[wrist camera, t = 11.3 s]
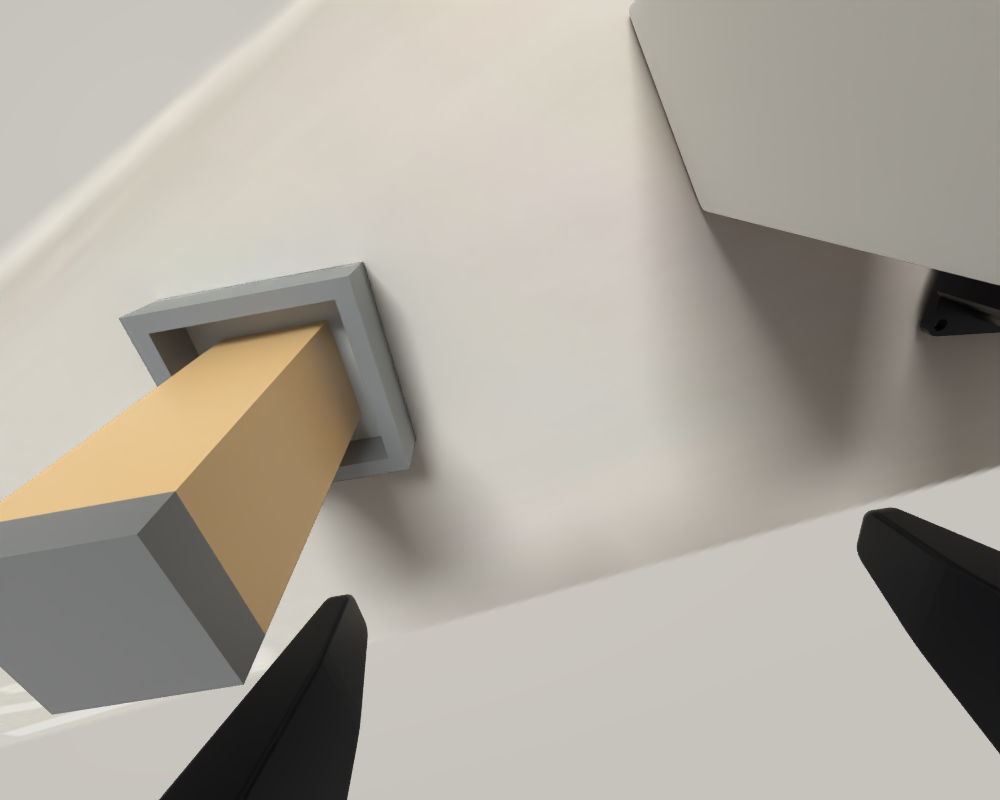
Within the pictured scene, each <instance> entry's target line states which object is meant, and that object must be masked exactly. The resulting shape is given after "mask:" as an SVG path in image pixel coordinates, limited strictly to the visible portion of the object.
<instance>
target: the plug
mask: <svg viewBox="0 0 1000 800" xmlns="http://www.w3.org/2000/svg"><path fill="white" fill-rule="evenodd" d="M361 415H362V414H361V411H360V409H359V406H358V403H357V400H356V398H355V395H354V392H353V389H352V387H351V384H350V381H349V378H348V375H347V373H346V370H345V367H344V364H343V362H342V359H341V356H340V353H339V351H338V348H337V345H336V342H335V339H334V337H333V334H332V331H331V328H330V326H329V323H328V320H325V321H320V322H314V323H309V324H304V325H299V326H293V327H288V328H283V329H277V330H272V331H267V332H261V333H256V334H251V335H245V336H240V337H235V338H230V339H224V340H221V341H219V342H218V343H217V344H215V345H214V346H213V347H211V348H210V349H209V350H207V351H206V352H204V353H203V354H202V355H200V356H199V357H198V358H196V359H195V360H194V361H192V362H191V363H190V364H188V365H187V366H185V367H184V368H183V369H181V370H180V371H179V372H177V373H176V374H175V375H173V376H172V377H170V378H169V379H168V380H166V381H165V382H164V383H162V384H161V385H160V386H158V387H157V388H155V389H154V390H153V391H151V392H150V393H149V394H147V395H146V396H145V397H143V398H142V399H140V400H139V401H138V402H136V403H135V404H134V405H132V406H131V407H130V408H128V409H127V410H125V411H124V412H123V413H121V414H120V415H119V416H117V417H116V418H115V419H113V420H112V421H111V422H109V423H108V424H106V425H105V426H104V427H102V428H101V429H100V430H98V431H97V432H96V433H94V434H93V435H91V436H90V437H89V438H87V439H86V440H85V441H83V442H82V443H81V444H79V445H78V446H76V447H75V448H74V449H72V450H71V451H70V452H68V453H67V454H66V455H64V456H63V457H61V458H60V459H59V460H57V461H56V462H55V463H53V464H52V465H51V466H49V467H48V468H46V469H45V470H44V471H42V472H41V473H40V474H38V475H37V476H36V477H34V478H33V479H31V480H30V481H29V482H27V483H26V484H25V485H23V486H22V487H21V488H19V489H18V490H17V491H15V492H14V493H12V494H11V495H10V496H8V497H7V498H6V499H4V500H3V501H2V502H0V667H1V668H2V669H3V670H5V671H6V672H7V673H8V674H9V675H10V676H11V677H12V678H13V679H14V680H15V681H16V682H17V683H19V684H20V685H21V686H22V687H23V688H24V689H25V690H26V691H27V692H28V693H29V694H30V695H32V696H33V697H34V698H35V699H36V700H37V701H38V702H39V703H40V704H41V705H42V706H43V707H44V708H46V709H47V710H48V711H49V712H50V713H51V714H59V713H65V712H71V711H78V710H84V709H91V708H97V707H103V706H110V705H116V704H122V703H129V702H135V701H142V700H148V699H154V698H161V697H167V696H173V695H180V694H186V693H193V692H199V691H205V690H212V689H218V688H224V687H230V686H237V685H243V684H244V683H245V680H246V678H247V676H248V673H249V671H250V669H251V667H252V664H253V662H254V660H255V657H256V655H257V653H258V651H259V648H260V646H261V644H262V641H263V639H264V637H265V635H266V632H267V630H268V628H269V625H270V623H271V621H272V619H273V616H274V614H275V612H276V609H277V607H278V605H279V602H280V600H281V598H282V596H283V593H284V591H285V589H286V586H287V584H288V582H289V580H290V577H291V575H292V573H293V570H294V568H295V566H296V564H297V561H298V559H299V557H300V554H301V552H302V550H303V548H304V545H305V543H306V541H307V538H308V536H309V534H310V532H311V529H312V527H313V525H314V522H315V520H316V518H317V516H318V513H319V511H320V509H321V506H322V504H323V502H324V500H325V497H326V495H327V493H328V490H329V488H330V486H331V484H332V481H333V479H334V477H335V474H336V472H337V470H338V468H339V465H340V463H341V461H342V458H343V456H344V454H345V452H346V449H347V447H348V445H349V442H350V440H351V438H352V436H353V433H354V431H355V429H356V426H357V424H358V422H359V420H360V417H361Z"/></svg>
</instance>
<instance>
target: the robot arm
mask: <svg viewBox="0 0 1000 800" xmlns="http://www.w3.org/2000/svg"><path fill="white" fill-rule="evenodd" d="M938 321H939V322H938ZM937 322H938V323H937ZM936 323H937V325H935V324H936ZM921 330H922V331H923V332H924V333H927V334H929V335H932V336H948V335H965V334H981V333H997V332H1000V285H996V284H992V283H988V282H984V281H980V280H976V279H972V278H968V277H964V276H960V275H956V274H952V273H948V272H944V271H941V272H940V274H939V277H938V280H937V282H936V285H935V287H934V290H933V293H932V295H931V298H930V301H929V303H928V306H927V309H926V311H925V314H924V317H923V319H922V322H921ZM857 552H858V555H859V557H860V559H861V561H862V563H863V564H864V566H865V568H866V569H867V571H868V572H869V574H870V575H871V577H872V579H873V580H874V581H875V583H876V585H877V586H878V588H879V589H880V591H881V593H882V594H883V596H884V597H885V599H886V600H887V602H888V603H889V605H890V607H891V608H892V610H893V611H894V613H895V614H896V616H897V617H898V619H899V621H900V622H901V624H902V625H903V627H904V628H905V630H906V631H907V633H908V634H909V636H910V637H911V639H912V640H913V642H914V643H915V644H916V646H917V647H918V648H919V650H920V651H921V653H922V654H923V655H924V657H925V658H926V660H927V661H928V662H929V663H930V665H931V666H932V667H933V669H934V670H935V671H936V672H937V674H938V675H939V676H940V678H941V679H942V680H943V681H944V683H945V684H946V685H947V687H948V688H949V689H950V690H951V691H952V693H953V694H954V696H955V697H956V698H957V699H958V701H959V702H960V703H961V705H962V706H963V707H964V708H965V710H966V711H967V712H968V714H969V715H970V716H971V717H972V719H973V720H974V721H975V723H976V724H977V725H978V726H979V728H980V729H981V730H982V732H983V733H984V734H985V735H986V737H987V738H988V739H989V741H990V742H991V743H992V744H993V746H994V747H995V748H996V750H997V751H998V752H999V753H1000V551H998V550H995V549H993V548H991V547H988V546H986V545H983V544H981V543H979V542H976V541H973V540H971V539H969V538H967V537H964V536H962V535H959V534H957V533H955V532H952V531H950V530H947V529H945V528H943V527H940V526H938V525H935V524H933V523H931V522H928V521H926V520H923V519H921V518H919V517H916V516H914V515H912V514H909V513H907V512H904V511H902V510H899V509H897V508H884V509H877V510H871V511H868V512H867V513H866V514H865V515H864V517H863V522H862V525H861V530H860V534H859V538H858V542H857ZM367 637H368V634H367V626H366V623H365V620H364V618H363V616H362V614H361V611H360V609H359V607H358V605H357V603H356V601H355V599H354V597H353V596H352V595H348V594H347V595H341V596H335V597H330V598H328V599H327V600H326V601H325V602H324V603H323V604H322V605H321V607H320V608H319V609H318V610H317V611H316V613H315V614H314V615H313V616H312V617H311V618H310V620H309V621H308V622H307V623H306V624H305V626H304V627H303V628H302V629H301V630H300V632H299V633H298V634H297V635H296V636H295V638H294V639H293V640H292V641H291V642H290V644H289V645H288V646H287V647H286V648H285V650H284V651H283V652H282V653H281V654H280V656H279V657H278V658H277V659H276V660H275V662H274V663H273V664H272V665H271V666H270V668H269V669H268V670H267V671H266V672H265V674H264V675H263V676H262V677H261V678H260V680H259V681H258V682H257V683H256V684H255V686H254V687H253V688H252V689H251V691H250V692H249V693H248V694H247V695H246V696H245V698H244V699H243V700H242V701H241V702H240V704H239V705H238V706H237V707H236V708H235V709H234V711H233V712H232V713H231V714H230V716H229V717H228V718H227V719H226V720H225V721H224V723H223V724H222V725H221V726H220V727H219V729H218V730H217V731H216V732H215V733H214V735H213V736H212V737H211V738H210V740H209V741H208V742H207V743H206V744H205V746H204V747H203V748H202V749H201V750H200V751H199V753H198V754H197V755H196V756H195V757H194V759H193V760H192V761H191V763H189V765H188V766H187V767H186V768H185V769H184V771H183V772H182V773H181V774H180V775H179V776H178V778H177V779H176V780H175V781H174V783H173V784H172V785H171V786H170V787H169V788H168V790H167V791H166V792H165V793H164V794H163V796H162V797H161V798H160V799H159V800H347V796H348V791H349V786H350V780H351V774H352V770H353V764H354V759H355V753H356V748H357V742H358V735H359V729H360V720H361V709H362V697H363V686H364V674H365V661H366V650H367Z"/></svg>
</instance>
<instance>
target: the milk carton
mask: <svg viewBox="0 0 1000 800" xmlns="http://www.w3.org/2000/svg"><path fill="white" fill-rule="evenodd" d="M629 13H630V17H631V20H632V23H633V26H634V29H635V32H636V34H637V37H638V40H639V42H640V45H641V48H642V51H643V53H644V56H645V59H646V61H647V64H648V67H649V69H650V72H651V75H652V77H653V80H654V83H655V86H656V88H657V91H658V94H659V96H660V99H661V102H662V104H663V107H664V110H665V112H666V115H667V118H668V120H669V123H670V126H671V129H672V131H673V134H674V137H675V139H676V142H677V145H678V147H679V150H680V153H681V155H682V158H683V161H684V164H685V166H686V169H687V172H688V174H689V177H690V180H691V182H692V185H693V188H694V190H695V193H696V196H697V198H698V201H699V203H700V205H701V207H702V209H703V210H705V211H707V212H711V213H714V214H718V215H722V216H726V217H730V218H734V219H738V220H742V221H746V222H750V223H754V224H758V225H762V226H766V227H770V228H774V229H778V230H782V231H786V232H790V233H794V234H798V235H802V236H806V237H810V238H814V239H818V240H822V241H825V242H829V243H833V244H837V245H841V246H845V247H849V248H853V249H857V250H861V251H865V252H869V253H873V254H877V255H881V256H885V257H889V258H893V259H897V260H901V261H905V262H909V263H913V264H917V265H921V266H925V267H929V268H933V269H936V270H940V271H944V272H948V273H952V274H956V275H960V276H964V277H968V278H972V279H976V280H980V281H984V282H988V283H992V284H996V285H1000V0H634V1H633V2H632V3H631V4H630V6H629Z"/></svg>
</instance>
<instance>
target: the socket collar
mask: <svg viewBox="0 0 1000 800" xmlns="http://www.w3.org/2000/svg"><path fill="white" fill-rule="evenodd" d="M119 320H120V322H121V323H122V325H123V327H124V329H125V330H126V332H127V334H128V336H129V337H130V339H131V341H132V343H133V345H134V346H135V348H136V350H137V352H138V353H139V355H140V357H141V359H142V360H143V362H144V364H145V366H146V367H147V369H148V371H149V373H150V375H151V376H152V378H153V380H154V382H155V383H156V385H157V387H158V386H160V385H161V384H162V383H164V382H165V381H166V380H168V379H169V378H170V377H172V376H173V375H175V374H176V373H177V372H179V371H180V370H181V369H183V368H184V367H185V366H187V365H188V364H190V363H191V362H192V361H194V360H195V359H196V358H198V357H199V356H200V355H202V354H203V353H204V352H206V351H207V350H209V349H210V348H211V347H213V346H214V345H215V344H217V343H218V342H219V341H221V340H224V339H230V338H235V337H240V336H245V335H251V334H256V333H261V332H267V331H272V330H277V329H283V328H288V327H293V326H299V325H304V324H309V323H314V322H320V321H325V320H328V323H329V326H330V328H331V331H332V334H333V337H334V339H335V342H336V345H337V348H338V351H339V353H340V356H341V359H342V362H343V364H344V367H345V370H346V373H347V375H348V378H349V381H350V384H351V387H352V389H353V392H354V395H355V398H356V400H357V403H358V406H359V409H360V411H361V414H362V415H361V417H360V420H359V422H358V424H357V426H356V429H355V431H354V433H353V436H352V438H351V440H350V442H349V445H348V447H347V449H346V452H345V454H344V456H343V458H342V461H341V463H340V465H339V468H338V470H337V472H336V474H335V477H334V479H333V481H332V482H337V481H343V480H349V479H355V478H361V477H367V476H373V475H379V474H385V473H391V472H397V471H403V470H409V469H410V465H411V460H412V456H413V451H414V446H415V441H416V437H415V434H414V430H413V427H412V424H411V420H410V417H409V414H408V410H407V407H406V404H405V400H404V397H403V394H402V390H401V387H400V384H399V380H398V377H397V374H396V370H395V367H394V364H393V360H392V357H391V354H390V350H389V347H388V344H387V340H386V337H385V334H384V330H383V327H382V324H381V320H380V317H379V314H378V310H377V307H376V304H375V300H374V297H373V294H372V290H371V287H370V284H369V280H368V277H367V274H366V270H365V267H364V264H363V262H359V263H354V264H348V265H343V266H338V267H332V268H327V269H321V270H316V271H311V272H305V273H300V274H295V275H289V276H284V277H278V278H273V279H268V280H262V281H257V282H252V283H246V284H241V285H235V286H230V287H225V288H219V289H214V290H209V291H203V292H198V293H192V294H187V295H182V296H176V297H171V298H166V299H160V300H158V301H155V302H153V303H151V304H149V305H147V306H145V307H142V308H140V309H138V310H136V311H134V312H132V313H130V314H127V315H125V316H123V317H121V318H119Z"/></svg>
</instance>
